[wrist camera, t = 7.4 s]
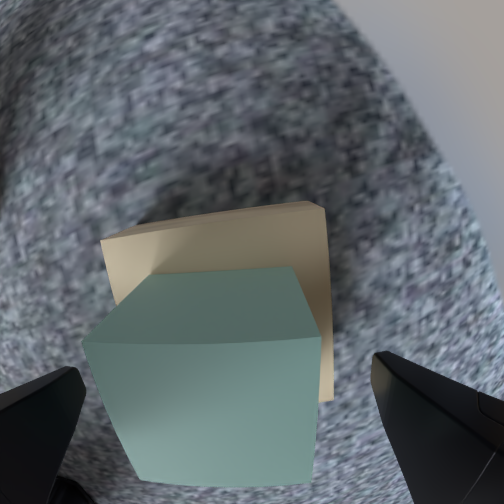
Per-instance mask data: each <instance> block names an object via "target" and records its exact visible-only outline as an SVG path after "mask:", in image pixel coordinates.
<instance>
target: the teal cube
mask: <svg viewBox="0 0 504 504" xmlns="http://www.w3.org/2000/svg"><path fill="white" fill-rule="evenodd" d="M81 342H82V345H83V348H84V351H85V355H86V358H87V361H88V364H89V366H90V369H91V372H92V375H93V378H94V381H95V383H96V386H97V389H98V391H99V394H100V396H101V399H102V401H103V404H104V406H105V409H106V411H107V413H108V416H109V418H110V420H111V423H112V425H113V427H114V429H115V432H116V434H117V436H118V438H119V440H120V442H121V444H122V446H123V448H124V450H125V452H126V454H127V456H128V458H129V460H130V462H131V464H132V466H133V468H134V470H135V472H136V473H137V475H138V477H139V479H140V480H143V481H150V482H158V483H166V484H176V485H187V486H202V487H268V486H283V485H294V484H304V483H311V480H312V471H313V462H314V452H315V441H316V429H317V416H318V402H319V385H320V364H321V334H320V332H319V329H318V327H317V325H316V322H315V320H314V317H313V315H312V312H311V310H310V308H309V305H308V303H307V301H306V298H305V296H304V293H303V291H302V289H301V286H300V284H299V282H298V279H297V277H296V275H295V272H294V270H293V268H292V266H287V267H272V268H256V269H241V270H224V271H208V272H191V273H172V274H154V275H148V276H147V277H146V278H145V279H144V280H143V281H142V282H141V283H140V284H139V285H138V286H137V287H136V288H135V289H134V290H133V291H132V292H130V293H129V294H128V295H127V296H126V297H125V298H124V299H123V300H122V301H121V302H120V303H119V304H118V305H117V306H116V307H115V308H114V309H113V310H112V311H111V312H110V313H109V314H108V315H107V316H106V317H105V318H104V319H103V320H102V321H101V322H100V323H99V324H98V325H97V326H96V327H95V328H94V329H93V330H92V331H91V332H90V333H89V334H88V335H87V336H86V337H85V338H84V339H83V340H82V341H81Z"/></svg>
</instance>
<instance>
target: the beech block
mask: <svg viewBox="0 0 504 504" xmlns="http://www.w3.org/2000/svg"><path fill="white" fill-rule="evenodd" d="M100 241H101V246H102V251H103V255H104V260H105V264H106V268H107V272H108V276H109V280H110V284H111V288H112V292H113V296H114V299H115V303H116V306H117V305H118V304H119V303H120V302H121V301H122V300H123V299H124V298H125V297H126V296H127V295H128V294H129V293H130V292H132V291H133V290H134V289H135V288H136V287H137V286H138V285H139V284H140V283H141V282H142V281H143V280H144V279H145V278H146V277H147V276H148V275H154V274H172V273H191V272H208V271H224V270H241V269H256V268H272V267H287V266H292V268H293V270H294V272H295V275H296V277H297V279H298V282H299V284H300V286H301V289H302V291H303V293H304V296H305V298H306V301H307V303H308V305H309V308H310V310H311V312H312V315H313V317H314V320H315V322H316V325H317V327H318V329H319V332H320V334H321V364H320V385H319V402H325V401H331V400H334V360H333V321H332V299H331V281H330V265H329V252H328V240H327V228H326V218H325V208H323V207H320V206H318V205H316V204H314V203H312V202H310V201H299V202H290V203H282V204H274V205H266V206H258V207H251V208H243V209H236V210H229V211H222V212H215V213H208V214H201V215H195V216H188V217H182V218H176V219H169V220H163V221H157V222H151V223H145V224H140V225H135V226H133V227H130V228H128V229H126V230H123V231H121V232H119V233H116V234H114V235H112V236H109V237H107V238H105V239H103V240H100ZM319 402H318V403H319Z"/></svg>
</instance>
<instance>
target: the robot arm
mask: <svg viewBox="0 0 504 504" xmlns="http://www.w3.org/2000/svg"><path fill="white" fill-rule="evenodd" d="M371 385H372V388H373V392H374V395H375V399H376V402H377V406H378V409H379V413H380V417H381V420H382V423H383V426H384V429H385V432H386V434H387V436H388V439H389V441H390V443H391V446H392V448H393V451H394V453H395V456H396V458H397V461H398V463H399V466H400V468H401V471H402V473H403V476H404V478H405V481H406V483H407V486H408V489H409V491H410V494H411V496H412V499H413V502H414V504H504V401H502V400H500V399H497V398H494V397H492V396H489V395H487V394H485V393H482V392H480V391H479V392H477V390H475V389H473V388H470V387H468V386H466V385H463V384H461V383H459V382H456V381H454V380H452V379H449V378H447V377H445V376H443V375H440V374H438V373H436V372H434V371H431V370H429V369H427V368H425V367H422V366H420V365H418V364H416V363H413V362H411V361H409V360H407V359H405V358H402V357H400V356H398V355H396V354H394V353H391V352H389V351H382V352H377V353H374V355H373V357H372V367H371ZM85 396H86V387H85V385H84V382H83V380H82V377H81V375H80V373H79V370H78V369H77V368H76V367H70V366H65V367H63V368H60V369H58V370H56V371H53V372H51V373H49V374H46V375H44V376H42V377H39V378H37V379H35V380H32V381H30V382H28V383H25V384H23V385H21V386H18V387H16V388H14V389H11V390H9V391H6V392H4V393H2V394H0V504H94V502H93V501H92V500H91V499H90V498H89V497H88V495H87V494H86V493H85V492H84V490H83V489H82V488H81V487H80V486H79V484H77V483H76V482H73V481H70V480H67V479H63V478H60V477H57V473H58V471H59V468H60V466H61V463H62V460H63V458H64V455H65V453H66V450H67V448H68V445H69V443H70V441H71V438H72V436H73V433H74V431H75V428H76V425H77V421H78V418H79V415H80V412H81V409H82V405H83V402H84V399H85Z"/></svg>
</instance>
